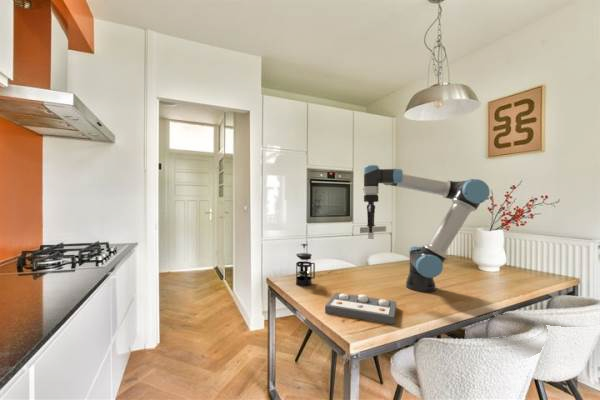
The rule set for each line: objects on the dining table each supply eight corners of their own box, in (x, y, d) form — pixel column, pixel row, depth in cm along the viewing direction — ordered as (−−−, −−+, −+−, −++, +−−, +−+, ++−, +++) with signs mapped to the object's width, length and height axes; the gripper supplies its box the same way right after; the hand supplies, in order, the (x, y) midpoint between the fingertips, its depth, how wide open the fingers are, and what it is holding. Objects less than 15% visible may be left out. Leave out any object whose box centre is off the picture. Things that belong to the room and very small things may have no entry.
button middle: (368, 302, 124) (368, 295, 124) (367, 305, 120) (367, 298, 120) (359, 300, 126) (359, 293, 126) (357, 303, 122) (357, 296, 122)
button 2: (389, 307, 121) (389, 300, 121) (388, 310, 117) (388, 303, 117) (379, 305, 123) (379, 298, 123) (377, 309, 119) (378, 301, 119)
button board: (396, 307, 122) (396, 300, 122) (393, 324, 106) (393, 315, 106) (336, 298, 133) (336, 291, 133) (325, 312, 117) (325, 304, 117)
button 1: (349, 301, 128) (349, 294, 128) (347, 304, 124) (347, 297, 124) (340, 299, 130) (340, 293, 130) (337, 302, 125) (337, 296, 125)
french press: (296, 287, 151) (297, 245, 151) (292, 282, 160) (293, 243, 160) (316, 285, 154) (317, 245, 154) (311, 280, 163) (312, 242, 163)
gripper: (365, 194, 152) (365, 236, 152) (362, 194, 140) (361, 239, 140) (379, 194, 149) (379, 237, 149) (377, 194, 137) (376, 240, 137)
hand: (370, 238), depth 144 cm, fingers closed
